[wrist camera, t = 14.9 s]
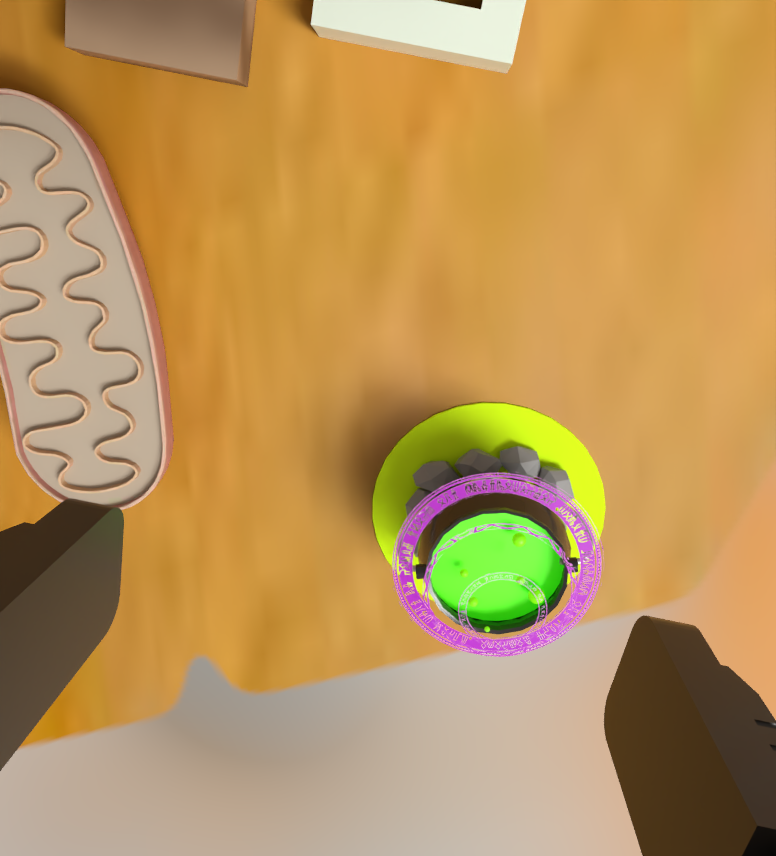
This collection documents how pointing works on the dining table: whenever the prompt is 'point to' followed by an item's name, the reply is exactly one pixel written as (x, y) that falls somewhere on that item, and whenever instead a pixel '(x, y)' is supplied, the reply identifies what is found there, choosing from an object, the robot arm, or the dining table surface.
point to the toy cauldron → (490, 522)
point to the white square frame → (426, 28)
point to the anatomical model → (76, 317)
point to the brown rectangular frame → (167, 35)
